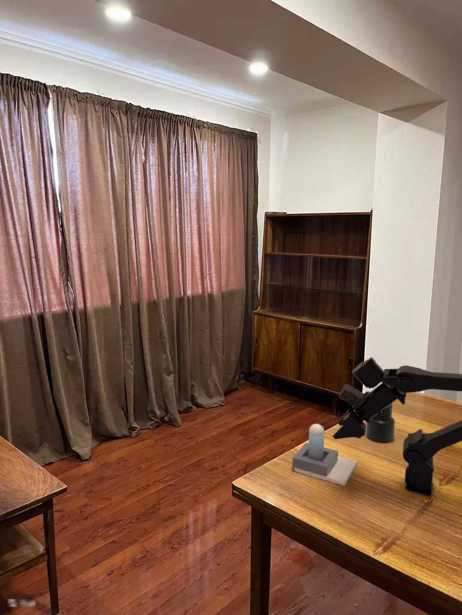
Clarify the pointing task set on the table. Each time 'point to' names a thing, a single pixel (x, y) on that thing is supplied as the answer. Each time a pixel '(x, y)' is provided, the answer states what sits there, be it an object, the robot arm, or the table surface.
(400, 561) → the table surface
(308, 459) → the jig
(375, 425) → the ink bottle
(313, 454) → the ball-topped blue post
